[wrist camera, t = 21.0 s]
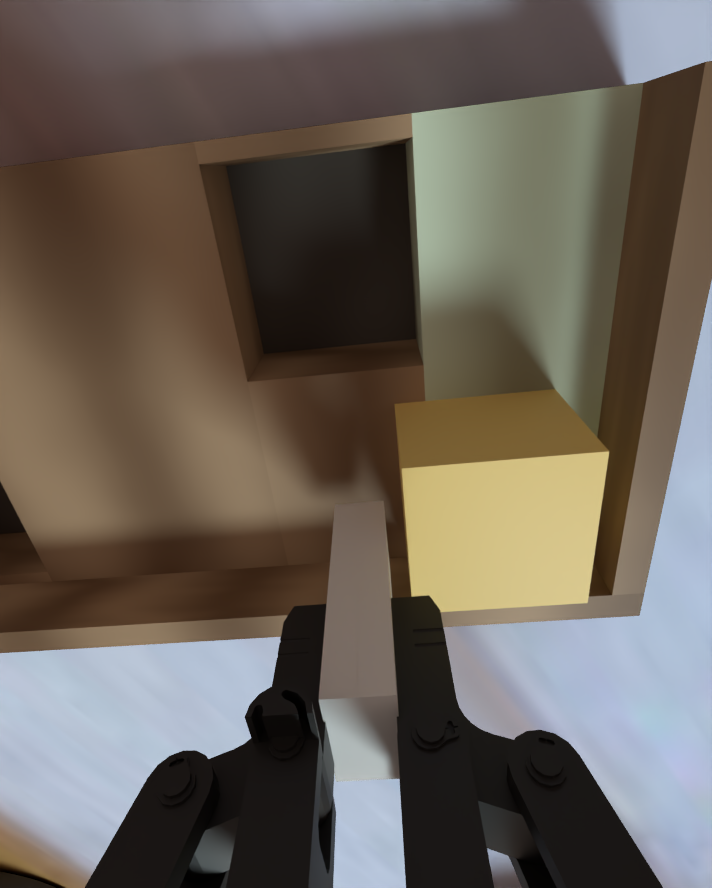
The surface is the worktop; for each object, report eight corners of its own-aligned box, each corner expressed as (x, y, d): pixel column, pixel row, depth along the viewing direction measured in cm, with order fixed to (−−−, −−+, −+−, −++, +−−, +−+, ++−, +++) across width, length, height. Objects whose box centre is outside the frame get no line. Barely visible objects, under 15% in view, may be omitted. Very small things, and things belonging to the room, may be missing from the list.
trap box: (-37, 561, 24) (-142, 661, 19) (-252, 209, 17) (-510, 223, 12) (578, 516, 22) (639, 615, 17) (629, 95, 15) (759, 54, 10)
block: (404, 529, 18) (413, 613, 15) (394, 403, 16) (401, 468, 12) (544, 519, 18) (587, 603, 14) (555, 388, 16) (609, 451, 12)
